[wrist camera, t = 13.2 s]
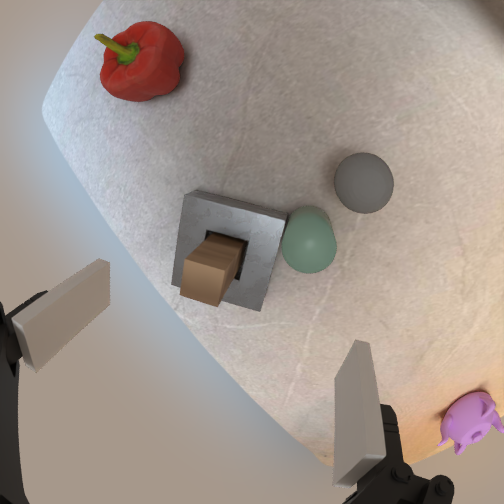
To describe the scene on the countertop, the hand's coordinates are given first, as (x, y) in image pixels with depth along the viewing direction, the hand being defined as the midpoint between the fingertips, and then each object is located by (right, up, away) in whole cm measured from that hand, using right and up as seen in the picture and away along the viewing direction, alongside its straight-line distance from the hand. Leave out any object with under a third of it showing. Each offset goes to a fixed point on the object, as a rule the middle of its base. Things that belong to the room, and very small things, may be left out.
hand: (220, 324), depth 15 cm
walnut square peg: (-1, +4, +25) cm, 26 cm away
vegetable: (-11, +28, +19) cm, 36 cm away
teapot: (+44, -27, +28) cm, 59 cm away
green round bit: (+9, +7, +23) cm, 25 cm away
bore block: (-1, +4, +25) cm, 26 cm away
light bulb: (+14, +13, +20) cm, 27 cm away
